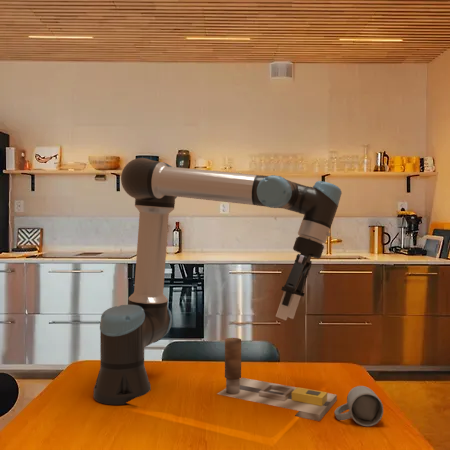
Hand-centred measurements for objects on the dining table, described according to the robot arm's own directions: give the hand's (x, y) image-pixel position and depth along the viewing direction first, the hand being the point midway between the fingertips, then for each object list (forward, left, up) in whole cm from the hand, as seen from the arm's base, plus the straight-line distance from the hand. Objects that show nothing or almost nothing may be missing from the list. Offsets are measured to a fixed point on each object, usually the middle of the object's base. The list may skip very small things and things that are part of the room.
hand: (284, 318), depth 124 cm
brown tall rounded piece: (-14, -2, -21) cm, 25 cm away
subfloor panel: (-3, +2, -22) cm, 23 cm away
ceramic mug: (+19, 0, -23) cm, 30 cm away
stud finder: (+6, +2, -21) cm, 22 cm away
